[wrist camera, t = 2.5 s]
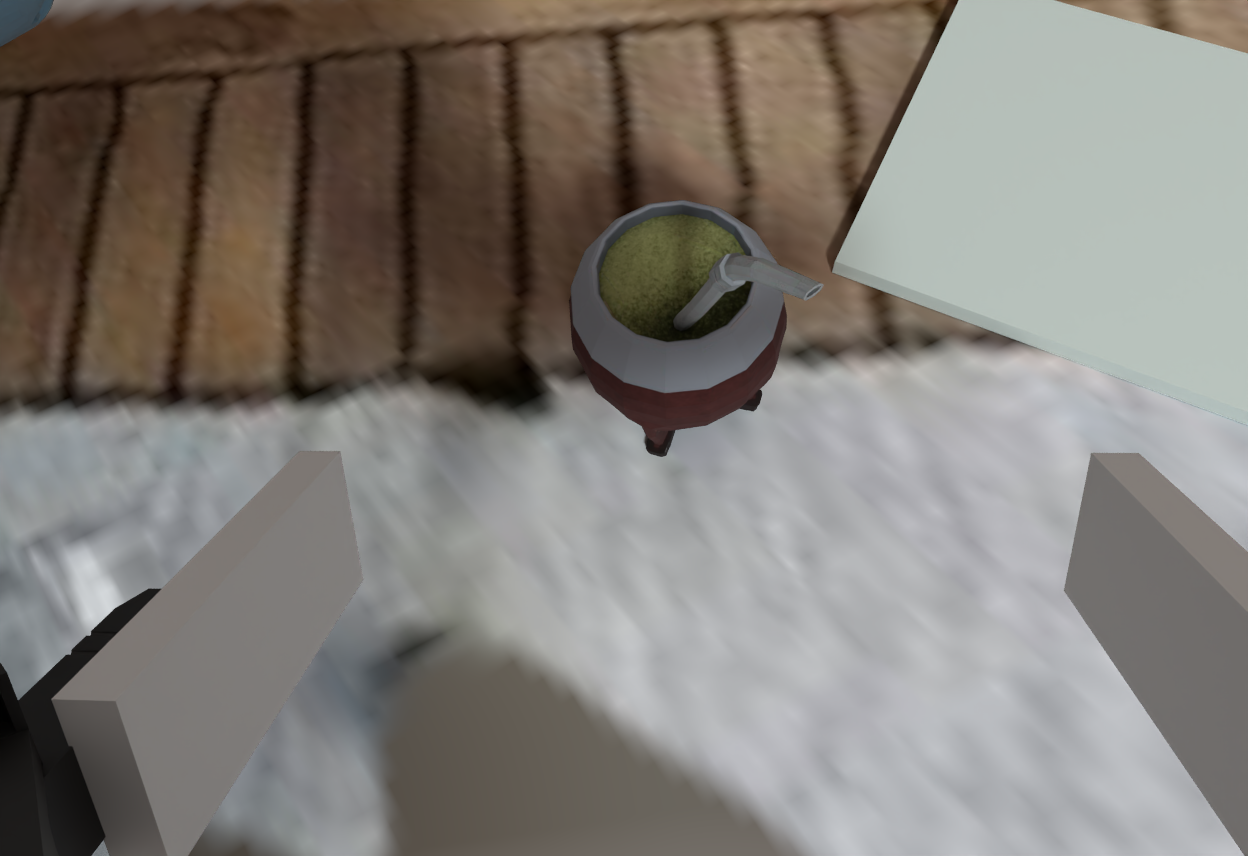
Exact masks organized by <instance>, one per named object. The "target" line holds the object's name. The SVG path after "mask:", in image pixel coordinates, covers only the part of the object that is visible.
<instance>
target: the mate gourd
mask: <svg viewBox="0 0 1248 856" xmlns="http://www.w3.org/2000/svg"><path fill="white" fill-rule="evenodd" d="M823 285H824V284H821V283H819V282H816V281H814V280H812V279H810V278H808V277H806V276H803V275H801V274H799V273H796V272H794V271H792V270H789V269H787V268H785V267H782V266H780V265H778V264H777V262H776V261H775V259H774V258H773V256H772V255H771V253H770V252H769V250H768V249H767V248H766V246H765V245H764V243H763V242H762V240H761V239H760V237H759V236H758V234H757V233H756V232H755V231H754V230H752V229H751V228H750V227H748V226H747V225H745V224H744V223H742V222H741V221H739V220H737V219H736V218H734V217H733V216H731V215H730V214H728V213H727V212H725V211H724V210H722V209H721V208H717V207H713V206H708V205H704V204H699V203H695V202H690V201H686V200H678V201H669V202H660V203H651V204H647V205H645V206H643V207H641V208H639V209H637V210H635V211H633V212H631V213H628V214H626V215H624V216H622V217H620V218H618V219H616V220H614V222H613V223H612V224H611V225H610V226H609V227H608V228H607V229H606V230H605V231H604V232H603V233H602V234H601V235H600V236H599V237H598V238H597V239H596V240H595V241H594V242H593V243H592V244H591V245H590V246H589V247H588V248H587V249H586V250H585V252H584V255H583V257H582V260H581V262H580V265H579V267H578V270H577V273H576V275H575V278H574V280H573V283H572V285H571V297H570V300H569V303H570V319H571V335H572V344H573V350H574V352H575V354H576V355H577V357H578V359H579V361H580V363H581V365H582V367H583V368H584V370H585V372H586V374H587V376H588V378H589V380H590V382H591V383H592V385H593V387H594V389H595V391H596V392H597V393H598V394H599V395H601V396H602V397H603V398H604V399H606V400H607V401H608V402H609V403H611V404H612V405H613V406H614V407H615V408H617V409H618V410H619V411H620V412H621V413H622V414H624V415H625V416H626V417H627V418H628V419H630V420H632V421H634V422H635V423H637V424H639V425H641V426H642V428H643V430H644V432H645V434H646V435H647V437H648V442H647V446H646V449H647V451H648V452H649V453H650V454H653V455H657V456H660V457H663V456H666V455H667V452H668V450H669V447H670V445H671V442H672V439H673V436H674V433H675V430H679V429H685V428H692V427H699V426H706V425H708V424H710V423H712V422H714V421H716V420H718V419H720V418H722V417H724V416H726V415H728V414H730V413H732V412H734V411H736V410H738V409H744V410H749V411H754V410H756V409H757V406H758V405H759V404H760V400H761V397H762V391H761V390H759V389H761V388H762V387H763V386H764V385H765V384H766V383H767V381H768V380H769V379H770V378H771V377H772V374H773V372H774V370H775V367H776V364H777V360H778V356H779V351H780V347H781V344H782V340H783V337H784V334H785V330H786V323H787V314H786V309H785V304H784V298H783V292H784V293H787V294H790V295H793V296H795V297H798V298H801V299H804V300H808V299H810V298H811V297H813V296H814V295H816V294H817V293H818V292H819V291H820V290H821V289H822V287H823Z"/></svg>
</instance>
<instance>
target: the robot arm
mask: <svg viewBox="0 0 1248 856" xmlns="http://www.w3.org/2000/svg"><path fill="white" fill-rule="evenodd" d="M53 1H54V0H0V47H1V46H2V45H4V44H6V43H8V42H10V41H11V40H13V39H15V38H17V37H18V36H20V35H22V34H24V33H26V32H27V31H29V30H31V29H32V28H34V27H35V26H37V25H38V24H39V23H40V22H41V21H42V20H43V19H44V18H45V17H46V15H47V14H48V12H49V11H50V9H51V7H52V4H53ZM362 581H363V574H362V569H361V563H360V558H359V552H358V547H357V541H356V536H355V530H354V525H353V519H352V513H351V508H350V502H349V497H348V491H347V486H346V480H345V475H344V469H343V464H342V458H341V453H340V451H300V452H299V453H297V454H296V455H295V456H294V457H293V458H292V459H291V460H290V461H289V462H288V463H287V464H286V465H285V466H284V467H283V468H282V469H281V470H280V471H279V472H278V473H277V474H276V475H275V476H274V477H273V478H272V479H271V480H270V481H269V482H268V483H267V484H266V485H265V486H264V487H263V488H262V489H261V490H260V491H259V492H258V493H257V494H256V495H255V496H254V497H253V498H252V499H251V500H250V501H249V502H248V503H247V504H246V505H245V506H244V507H243V508H242V509H241V510H240V511H239V512H238V513H237V514H236V515H235V516H234V517H233V518H232V519H231V520H230V521H229V522H228V523H227V524H226V525H225V526H224V527H223V528H222V529H221V530H220V531H219V532H218V533H217V534H216V535H215V536H214V537H213V538H212V539H211V540H210V541H209V542H208V543H207V544H206V545H205V546H204V547H203V548H202V549H201V550H200V551H199V552H198V553H197V554H196V555H195V556H194V557H193V558H192V559H191V560H190V561H189V562H188V563H187V564H186V565H185V566H184V567H183V568H182V569H181V570H180V571H179V572H178V573H177V574H176V575H175V576H174V577H173V578H172V579H171V580H170V581H169V582H168V583H167V584H166V585H165V586H164V587H163V588H162V589H148V590H146V591H144V592H142V593H141V594H139V595H137V596H136V597H134V598H132V599H130V600H129V601H127V602H125V603H124V604H122V605H120V606H118V607H117V608H115V609H114V610H113V611H112V612H111V613H110V614H109V615H108V616H107V617H106V618H105V619H103V620H102V621H101V622H100V623H99V624H98V625H97V626H96V627H95V628H94V629H93V630H92V631H91V636H86V637H85V638H84V639H82V640H81V641H80V642H79V643H78V644H77V645H76V646H75V647H74V648H73V649H72V653H71V655H66V656H65V657H64V658H63V659H61V660H60V661H59V662H58V663H57V664H56V665H55V666H54V667H53V668H52V669H51V670H50V671H49V672H48V673H47V674H46V675H45V676H44V677H43V678H41V679H40V680H39V681H38V682H37V683H36V684H35V685H34V686H33V687H32V688H31V689H30V690H29V691H28V692H27V693H26V694H25V695H24V696H23V697H22V698H20V699H19V700H17V697H16V695H15V692H14V690H13V687H12V684H11V682H10V679H9V677H8V674H7V672H6V671H5V669H4V667H3V666H2V664H1V663H0V856H91V855H92V854H93V853H94V851H95V850H96V849H97V848H98V846H99V845H100V844H101V842H102V841H103V840H104V842H105V845H106V847H107V850H108V853H109V855H110V856H188V855H189V853H190V852H191V850H192V848H193V847H194V845H195V844H196V842H197V841H198V839H199V837H200V836H201V834H202V833H203V831H204V830H205V828H206V826H207V825H208V823H209V822H210V820H211V819H212V817H213V815H214V814H215V812H216V811H217V809H218V808H219V806H220V804H221V803H222V801H223V800H224V798H225V797H226V795H227V793H228V792H229V790H230V789H231V787H232V786H233V784H234V782H235V781H236V779H237V778H238V776H239V775H240V773H241V771H242V770H243V768H244V767H245V765H246V764H247V762H248V760H249V759H250V757H251V756H252V754H253V753H254V751H255V749H256V748H257V746H258V745H259V743H260V742H261V740H262V738H263V737H264V735H265V734H266V732H267V731H268V729H269V727H270V726H271V724H272V723H273V721H274V720H275V718H276V716H277V715H278V713H279V712H280V710H281V709H282V707H283V705H284V704H285V702H286V701H287V699H288V698H289V696H290V694H291V693H292V691H293V690H294V688H295V687H296V685H297V683H298V682H299V680H300V679H301V677H302V676H303V674H304V672H305V671H306V669H307V668H308V666H309V665H310V663H311V661H312V660H313V658H314V657H315V655H316V654H317V652H318V650H319V649H320V647H321V646H322V644H323V643H324V641H325V639H326V638H327V636H328V635H329V633H330V632H331V630H332V628H333V627H334V625H335V624H336V622H337V621H338V619H339V617H340V616H341V614H342V613H343V611H344V610H345V608H346V606H347V605H348V603H349V602H350V600H351V599H352V597H353V595H354V594H355V592H356V591H357V589H358V588H359V586H360V584H361V583H362ZM1064 591H1065V593H1066V594H1067V596H1068V597H1069V599H1070V600H1071V602H1072V603H1073V604H1074V606H1075V607H1076V609H1077V610H1078V612H1079V613H1080V615H1081V616H1082V618H1083V619H1084V621H1085V622H1086V624H1087V625H1088V626H1089V628H1090V629H1091V631H1092V632H1093V634H1094V635H1095V637H1096V638H1097V640H1098V641H1099V643H1100V644H1101V646H1102V647H1103V648H1104V650H1105V651H1106V653H1107V654H1108V656H1109V657H1110V659H1111V660H1112V662H1113V663H1114V665H1115V666H1116V668H1117V669H1118V671H1119V672H1120V673H1121V675H1122V676H1123V678H1124V679H1125V681H1126V682H1127V684H1128V685H1129V687H1130V688H1131V690H1132V691H1133V693H1134V694H1135V695H1136V697H1137V698H1138V700H1139V701H1140V703H1141V704H1142V706H1143V707H1144V709H1145V710H1146V712H1147V713H1148V715H1149V716H1150V717H1151V719H1152V720H1153V722H1154V723H1155V725H1156V726H1157V728H1158V729H1159V731H1160V732H1161V734H1162V735H1163V737H1164V738H1165V740H1166V741H1167V742H1168V744H1169V745H1170V747H1171V748H1172V750H1173V751H1174V753H1175V754H1176V756H1177V757H1178V759H1179V760H1180V762H1181V763H1182V764H1183V766H1184V767H1185V769H1186V770H1187V772H1188V773H1189V775H1190V776H1191V778H1192V779H1193V781H1194V782H1195V784H1196V785H1197V787H1198V788H1199V789H1200V791H1201V792H1202V794H1203V795H1204V797H1205V798H1206V800H1207V801H1208V803H1209V804H1210V806H1211V807H1212V809H1213V810H1214V811H1215V813H1216V814H1217V816H1218V817H1219V819H1220V820H1221V822H1222V823H1223V825H1224V826H1225V828H1226V829H1227V831H1228V832H1229V833H1230V835H1231V836H1232V838H1233V839H1234V841H1235V842H1236V844H1237V845H1238V847H1239V848H1240V850H1241V851H1242V853H1243V854H1244V856H1248V552H1247V551H1246V550H1245V549H1244V548H1243V547H1242V546H1240V545H1239V544H1238V543H1237V542H1236V541H1235V540H1234V539H1233V538H1232V537H1231V536H1229V535H1228V534H1227V533H1226V532H1225V531H1224V530H1223V529H1222V528H1221V527H1219V526H1218V525H1217V524H1216V523H1215V522H1214V521H1213V520H1212V519H1211V518H1210V517H1208V516H1207V515H1206V514H1205V513H1204V512H1203V511H1202V510H1201V509H1200V508H1199V507H1197V506H1196V505H1195V504H1194V503H1193V502H1192V501H1191V500H1190V499H1189V498H1188V497H1186V496H1185V495H1184V494H1183V493H1182V492H1181V491H1180V490H1179V489H1178V488H1177V487H1175V486H1174V485H1173V484H1172V483H1171V482H1170V481H1169V480H1168V479H1167V478H1165V477H1164V476H1163V475H1162V474H1161V473H1160V472H1159V471H1158V470H1157V469H1156V468H1154V467H1153V466H1152V465H1151V464H1150V463H1149V462H1148V461H1147V460H1146V459H1145V458H1143V457H1142V456H1141V455H1140V454H1139V453H1091V457H1090V462H1089V467H1088V472H1087V477H1086V482H1085V487H1084V492H1083V497H1082V502H1081V507H1080V512H1079V517H1078V522H1077V527H1076V532H1075V537H1074V542H1073V548H1072V553H1071V558H1070V563H1069V568H1068V573H1067V578H1066V583H1065V588H1064Z"/></svg>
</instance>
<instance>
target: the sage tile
mask: <svg viewBox="0 0 1248 856" xmlns="http://www.w3.org/2000/svg"><path fill="white" fill-rule="evenodd" d="M832 273H835V274H838V275H841V276H843V277H846V278H849V279H851V280H854V281H857V282H860V283H862V284H865V285H868V286H871V287H873V288H876V289H879V290H881V291H884V292H887V293H890V294H892V295H895V296H898V297H900V298H903V299H906V300H909V301H911V302H914V303H917V304H919V305H922V306H925V307H928V308H930V309H933V310H936V311H938V312H941V313H944V314H947V315H949V316H952V317H955V318H957V319H960V320H963V321H966V322H968V323H971V324H974V325H977V326H979V327H982V328H985V329H987V330H990V331H993V332H996V333H998V334H1001V335H1004V336H1006V337H1009V338H1012V339H1015V340H1017V341H1020V342H1023V343H1025V344H1028V345H1031V346H1034V347H1036V348H1039V349H1042V350H1044V351H1047V352H1050V353H1053V354H1055V355H1058V356H1061V357H1063V358H1066V359H1069V360H1072V361H1074V362H1077V363H1080V364H1083V365H1085V366H1088V367H1091V368H1093V369H1096V370H1099V371H1102V372H1104V373H1107V374H1110V375H1112V376H1115V377H1118V378H1121V379H1123V380H1126V381H1129V382H1131V383H1134V384H1137V385H1140V386H1142V387H1145V388H1148V389H1150V390H1153V391H1156V392H1159V393H1161V394H1164V395H1167V396H1169V397H1172V398H1175V399H1178V400H1180V401H1183V402H1186V403H1188V404H1191V405H1194V406H1197V407H1199V408H1202V409H1205V410H1208V411H1210V412H1213V413H1216V414H1218V415H1221V416H1224V417H1227V418H1229V419H1232V420H1235V421H1237V422H1240V423H1243V424H1246V425H1248V54H1247V53H1244V52H1240V51H1236V50H1233V49H1229V48H1225V47H1222V46H1218V45H1214V44H1211V43H1207V42H1203V41H1200V40H1196V39H1193V38H1189V37H1185V36H1182V35H1178V34H1174V33H1171V32H1167V31H1163V30H1160V29H1156V28H1152V27H1149V26H1145V25H1141V24H1138V23H1134V22H1131V21H1127V20H1123V19H1120V18H1116V17H1112V16H1109V15H1105V14H1101V13H1098V12H1094V11H1090V10H1087V9H1083V8H1080V7H1076V6H1072V5H1069V4H1065V3H1061V2H1058V1H1054V0H959V1H958V3H957V5H956V7H955V9H954V11H953V14H952V16H951V18H950V20H949V22H948V24H947V26H946V28H945V30H944V32H943V35H942V37H941V39H940V41H939V43H938V45H937V47H936V49H935V51H934V54H933V56H932V58H931V60H930V62H929V64H928V66H927V68H926V70H925V73H924V75H923V77H922V79H921V81H920V83H919V85H918V87H917V89H916V92H915V94H914V96H913V98H912V100H911V102H910V104H909V106H908V108H907V111H906V113H905V115H904V117H903V119H902V121H901V123H900V125H899V127H898V130H897V132H896V134H895V136H894V138H893V140H892V142H891V144H890V146H889V149H888V151H887V153H886V155H885V157H884V159H883V161H882V163H881V165H880V168H879V170H878V172H877V174H876V176H875V178H874V180H873V182H872V184H871V186H870V189H869V191H868V193H867V195H866V197H865V199H864V201H863V203H862V205H861V208H860V210H859V212H858V214H857V216H856V218H855V220H854V222H853V224H852V227H851V229H850V231H849V233H848V235H847V237H846V239H845V241H844V243H843V246H842V248H841V250H840V252H839V254H838V256H837V258H836V260H835V263H834V267H833V271H832Z"/></svg>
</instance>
